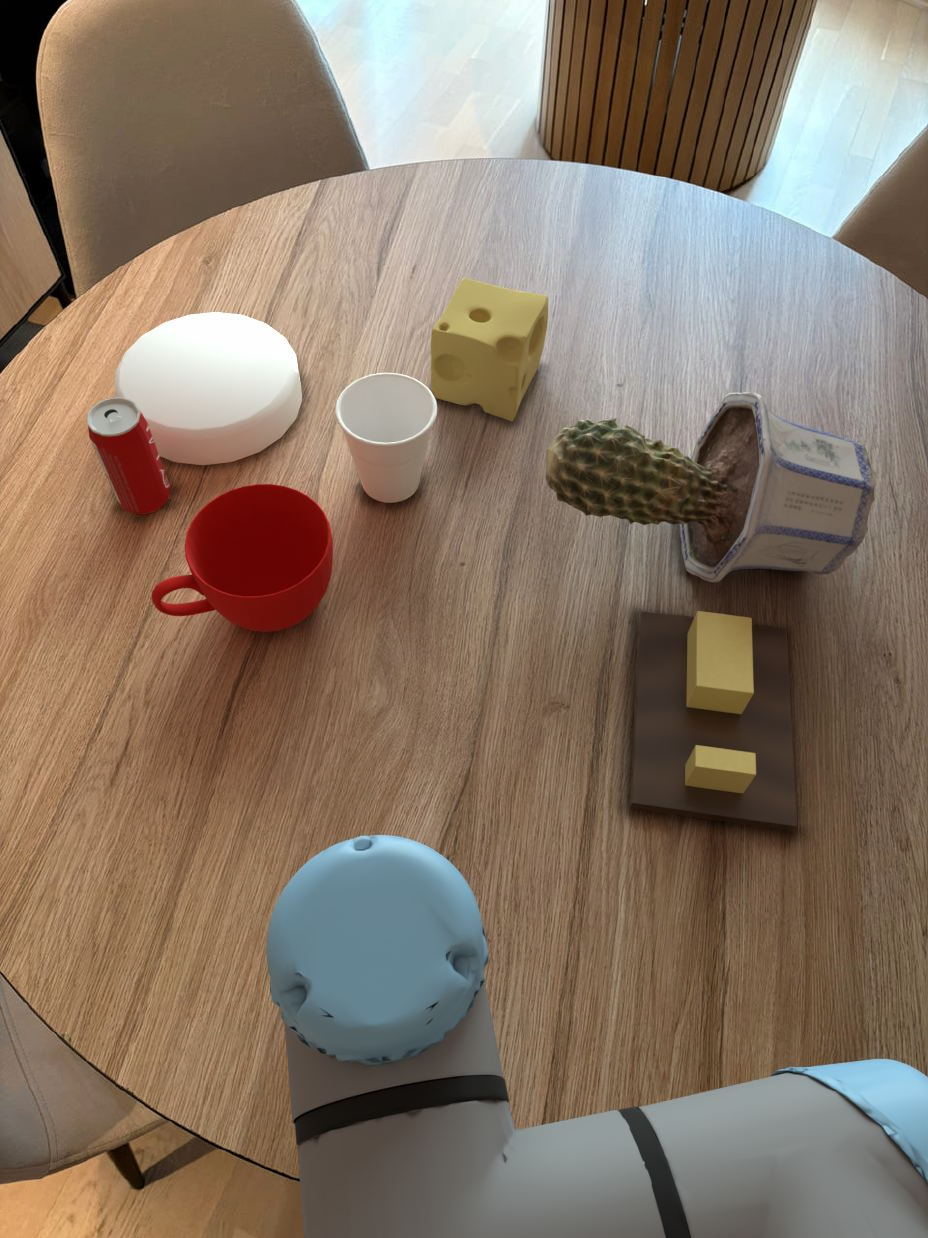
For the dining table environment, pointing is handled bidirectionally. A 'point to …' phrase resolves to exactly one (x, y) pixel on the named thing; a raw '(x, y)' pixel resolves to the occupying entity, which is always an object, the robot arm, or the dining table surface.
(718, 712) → the board
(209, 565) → the ceramic cup
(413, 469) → the cup
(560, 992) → the dining table surface
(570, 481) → the potted plant
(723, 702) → the butter block
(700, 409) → the dining table surface
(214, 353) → the container
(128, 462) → the soda can
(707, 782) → the block
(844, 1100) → the robot arm
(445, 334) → the cheese
